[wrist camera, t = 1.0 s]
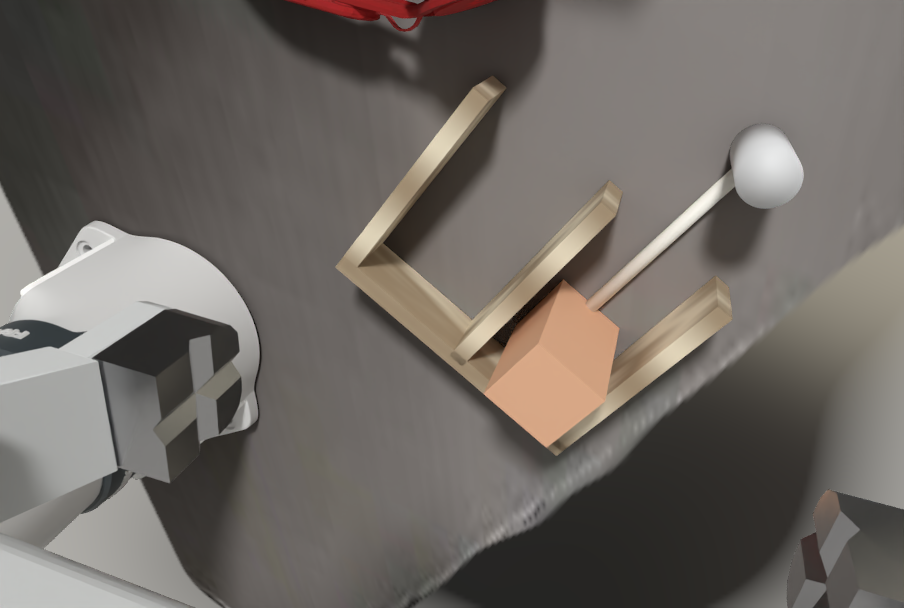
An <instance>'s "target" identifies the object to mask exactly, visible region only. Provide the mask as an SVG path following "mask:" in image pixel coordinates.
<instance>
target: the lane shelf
mask: <svg viewBox="0 0 904 608" xmlns="http://www.w3.org/2000/svg"><path fill="white" fill-rule="evenodd" d="M505 89H506V87H505V86H504V85H503V84H502V83H500V82H499V81H498V80H497V79H496V78H495V77H494V76H491V77H489V78H488V79H486V80H484V81H483V82H481V83H480V84H478V85H476V86H475V87H473V88H472V89H471V91H470V92H469V93H468V95H467V96H466V97H465V99H464V100H463V101H462V102H461V104H460V105H459V106H458V108H457V109H456V110H455V112H454V113H453V114H452V116H451V117H450V118H449V119H448V121H447V122H446V123H445V125H444V126H443V127H442V129H441V130H440V131H439V132H438V134H437V135H436V136H435V138H434V139H433V140H432V142H431V143H430V144H429V146H428V147H427V148H426V149H425V151H424V152H423V153H422V155H421V156H420V157H419V159H418V160H417V161H416V163H415V164H414V165H413V166H412V168H411V169H410V170H409V172H408V173H407V174H406V176H405V177H404V178H403V180H402V181H401V182H400V183H399V185H398V186H397V187H396V189H395V190H394V191H393V193H392V194H391V195H390V197H389V198H388V199H387V200H386V202H385V203H384V204H383V206H382V207H381V208H380V210H379V211H378V212H377V213H376V215H375V216H374V217H373V219H372V220H371V221H370V223H369V224H368V225H367V227H366V228H365V229H364V230H363V232H362V233H361V234H360V236H359V237H358V238H357V240H356V241H355V242H354V244H353V245H352V246H351V247H350V249H349V250H348V251H347V253H346V254H345V255H344V257H343V258H342V259H341V261H340V262H339V263H338V264H337V266H336V268H337V269H338V270H339V271H340V272H342V273H343V274H344V275H345V276H346V277H347V278H349V279H350V280H351V281H352V282H353V283H354V284H356V285H357V286H358V287H359V288H360V289H361V290H363V291H364V292H365V293H366V294H367V295H368V296H370V297H371V298H372V299H373V300H374V301H375V302H377V303H378V304H379V305H380V306H381V307H382V308H384V309H385V310H386V311H387V312H388V313H390V314H391V315H392V316H393V317H394V318H395V319H397V320H398V321H399V322H400V323H401V324H402V325H404V326H405V327H406V328H407V329H408V330H409V331H411V332H412V333H413V334H414V335H415V336H416V337H418V338H419V339H420V340H421V341H422V342H423V343H425V344H426V345H427V346H428V347H429V348H430V349H432V350H433V351H434V352H435V353H436V354H437V355H439V356H440V357H441V358H442V359H443V360H445V361H446V362H447V363H448V364H449V365H450V366H452V367H453V368H454V369H455V370H456V371H457V372H459V373H460V374H461V375H462V376H463V377H464V378H466V379H467V380H468V381H469V382H470V383H471V384H473V385H474V386H475V387H476V388H477V389H478V390H480V391H481V392H482V393H484V391H485V389H486V387H487V385H488V383H489V381H490V379H491V377H492V374H493V372H494V370H495V368H496V366H497V364H498V362H499V360H500V358H501V355H502V353H503V351H504V349H505V348H504V347H503V346H502V345H501V344H499V343H498V342H497V341H496V340H495V339H494V338H492V336H493V335H494V334H495V333H496V332H497V331H498V330H499V329H500V328H501V327H502V326H503V325H504V324H505V323H506V322H508V321H509V320H510V319H511V318H512V317H513V316H514V315H515V314H516V313H517V312H518V311H519V310H520V309H521V308H522V307H523V306H524V305H525V304H526V303H527V302H528V301H529V300H530V299H531V298H532V297H533V296H534V295H535V294H536V293H537V292H538V291H539V290H540V289H541V288H542V287H543V286H544V285H545V284H546V283H547V282H548V281H549V280H550V279H551V278H553V277H554V276H555V275H556V274H557V273H558V272H559V271H560V270H561V269H562V268H563V267H564V266H565V265H566V264H567V263H568V262H569V261H570V260H571V259H572V258H573V257H574V256H575V255H576V254H577V253H578V252H579V251H580V250H581V249H582V248H583V247H584V246H585V245H586V244H587V243H588V242H589V241H590V240H591V239H592V238H593V237H594V236H595V235H596V234H597V233H599V232H600V231H601V230H602V229H603V228H604V227H605V226H606V225H607V224H608V223H609V222H610V221H611V220H612V219H613V218H614V217H615V216H616V214H617V210H618V207H619V203H620V200H621V196H622V193H623V192H622V191H621V190H620V189H619V188H618V187H616V186H615V185H614V184H613V183H612V182H611V181H610V180H609V181H608V182H607V183H606V184H605V185H604V186H603V187H602V188H601V189H600V190H599V191H598V192H597V193H596V194H595V195H594V196H593V197H592V198H591V199H590V200H589V201H588V202H587V203H586V204H585V205H584V206H583V207H582V208H581V209H580V210H579V211H578V212H577V213H576V214H575V216H574V217H573V218H572V219H571V220H570V221H569V222H568V223H567V224H566V225H565V226H564V227H563V228H562V229H561V230H560V231H559V232H558V233H557V234H556V235H555V236H554V237H553V238H552V239H551V240H550V241H549V242H548V243H547V244H546V245H545V246H544V247H543V248H542V249H541V250H540V251H539V252H538V253H537V254H536V255H535V256H534V257H533V258H532V259H531V260H530V261H529V263H528V264H527V265H526V266H525V267H524V268H523V269H522V270H521V271H520V272H519V273H518V274H517V275H516V276H515V277H514V278H513V279H512V280H511V281H510V282H509V283H508V284H507V285H506V286H505V287H504V288H503V289H502V290H501V291H500V292H499V293H498V294H497V295H496V296H495V297H494V298H493V299H492V300H491V301H490V302H489V303H488V304H487V305H486V306H485V307H484V309H483V310H482V311H481V312H480V313H479V314H478V315H477V316H476V317H475V318H474V319H473V320H472V319H470V318H469V317H468V316H467V315H466V314H465V313H463V312H462V311H461V310H460V309H459V308H458V307H456V306H455V305H454V304H453V303H452V302H451V301H450V300H448V299H447V298H446V297H445V296H444V295H443V294H441V293H440V292H439V291H438V290H437V289H436V288H434V287H433V286H432V285H431V284H430V283H429V282H427V281H426V280H425V279H424V278H423V277H422V276H421V275H419V274H418V273H417V272H416V271H415V270H414V269H412V268H411V267H410V266H409V265H408V264H407V263H405V262H404V261H403V260H402V259H401V258H400V257H399V256H397V255H396V254H395V253H394V252H393V251H392V250H390V249H389V248H388V247H387V246H386V245H385V244H383V242H384V241H385V240H386V239H387V237H388V236H389V235H390V234H391V232H392V231H393V230H394V229H395V227H396V226H397V225H398V224H399V222H400V221H401V220H402V218H403V217H404V216H405V215H406V213H407V212H408V211H409V210H410V208H411V207H412V206H413V205H414V203H415V202H416V201H417V200H418V198H419V197H420V196H421V195H422V193H423V192H424V191H425V190H426V188H427V187H428V186H429V185H430V183H431V182H432V181H433V180H434V178H435V177H436V176H437V175H438V173H439V172H440V171H441V170H442V168H443V167H444V166H445V165H446V163H447V162H448V161H449V160H450V158H451V157H452V156H453V155H454V153H455V152H456V151H457V150H458V148H459V147H460V146H461V144H462V143H463V142H464V141H465V139H466V138H467V137H468V136H469V134H470V133H471V132H472V131H473V129H474V128H475V127H476V126H477V124H478V123H479V122H480V121H481V119H482V118H483V117H484V116H485V114H486V113H487V112H488V111H489V109H490V108H491V107H492V106H493V104H494V103H495V102H496V101H497V99H498V98H499V97H500V96H501V94H502V93H503V92H504V91H505ZM731 320H732V310H731V301H730V293H729V287H728V286H727V285H726V284H725V283H724V282H722V281H721V280H720V279H719V278H718V277H717V276H715V277H713V278H712V279H711V280H710V281H709V282H707V283H706V284H705V285H704V286H703V287H701V288H700V289H699V290H698V291H696V292H695V293H694V294H693V295H692V296H690V297H689V298H688V299H687V300H686V301H684V302H683V303H682V304H681V305H680V306H678V307H677V308H676V309H675V310H674V311H672V312H671V313H670V314H669V315H668V316H666V317H665V318H664V319H663V320H662V321H660V322H659V323H658V324H657V325H655V326H654V327H653V328H652V329H651V330H649V331H648V332H647V333H646V334H645V335H643V336H642V337H641V338H640V339H639V340H637V341H636V342H635V343H634V344H633V345H631V346H630V347H629V348H628V349H627V350H625V351H624V352H623V353H622V354H620V355H619V356H618V357H617V358H616V359H614V360H613V364H612V369H611V374H610V379H609V384H608V390H607V395H606V400H605V402H604V403H602V404H601V405H600V406H599V407H597V408H596V409H595V410H594V411H592V412H591V413H590V414H589V415H587V416H586V417H585V418H584V419H582V420H581V421H580V422H579V423H577V424H576V425H575V426H573V427H572V428H571V429H570V430H568V431H567V432H566V433H565V434H563V435H562V436H561V437H560V438H558V439H557V440H556V441H555V442H553V443H552V444H551V445H549V446H548V447H547V448H548V449H549V450H550V451H551V452H552V453H553V454H555V455H556V456H557V455H558V454H560V453H561V452H562V451H563V450H565V449H566V448H567V447H569V446H570V445H571V444H572V443H574V442H575V441H576V440H578V439H579V438H580V437H581V436H583V435H584V434H585V433H587V432H588V431H589V430H591V429H592V428H593V427H594V426H596V425H597V424H598V423H600V422H601V421H602V420H603V419H605V418H606V417H607V416H609V415H610V414H611V413H612V412H614V411H615V410H616V409H618V408H619V407H620V406H621V405H623V404H624V403H625V402H627V401H628V400H629V399H630V398H632V397H633V396H634V395H636V394H637V393H638V392H640V391H641V390H642V389H643V388H645V387H646V386H647V385H649V384H650V383H651V382H652V381H654V380H655V379H656V378H658V377H659V376H660V375H661V374H663V373H664V372H665V371H667V370H668V369H669V368H670V367H672V366H673V365H674V364H676V363H677V362H678V361H680V360H681V359H682V358H683V357H685V356H686V355H687V354H689V353H690V352H691V351H692V350H694V349H695V348H696V347H698V346H699V345H700V344H701V343H703V342H704V341H705V340H707V339H708V338H709V337H710V336H712V335H713V334H714V333H716V332H717V331H718V330H720V329H721V328H722V327H723V326H725V325H726V324H727V323H729V322H730V321H731Z"/></svg>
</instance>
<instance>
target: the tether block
mask: <svg viewBox="0 0 904 608" xmlns="http://www.w3.org/2000/svg"><path fill="white" fill-rule="evenodd" d="M730 161H731V166H732V169H730V170H729V171H728V172H727V173H726V174H725V175H724V176H723V177H722V178H721V179H720V180H718V181H717V182H716V183H715V184H714V185H713V186H712V187H711V188H710V189H709V190H708V191H706V192H705V193H704V194H703V195H702V196H701V197H700V198H699V199H698V200H697V201H696V202H694V203H693V204H692V205H691V206H690V207H689V208H688V209H687V210H686V211H685V212H684V213H682V214H681V215H680V216H679V217H678V218H677V219H676V220H675V221H674V222H673V223H672V224H670V225H669V226H668V227H667V228H666V229H665V230H664V231H663V232H662V233H661V234H660V235H658V236H657V237H656V238H655V239H654V240H653V241H652V242H651V243H650V244H649V245H648V246H646V247H645V248H644V249H643V250H642V251H641V252H640V253H639V254H638V255H637V256H636V257H634V258H633V259H632V260H631V261H630V262H629V263H628V264H627V265H626V266H625V267H624V268H622V269H621V270H620V271H619V272H618V273H617V274H616V275H615V276H614V277H613V278H611V279H610V280H609V281H608V282H607V283H606V284H605V285H604V286H603V287H602V288H601V289H599V290H598V291H597V292H596V293H595V294H594V295H593V296H592V297H591V298H590V299H589V300H586V299H585V298H584V297H583V296H582V295H581V294H580V293H578V292H577V291H576V290H575V289H574V288H573V287H572V286H571V285H569V284H568V283H567V282H566V281H565V280H564V279H563V280H562V281H561V282H560V283H559V284H558V285H557V286H556V287H555V288H554V289H553V290H552V291H551V292H550V293H549V294H548V295H547V296H546V297H545V298H544V299H543V300H542V301H540V302H539V303H538V304H537V305H536V306H535V307H534V308H533V309H532V310H531V311H530V312H529V313H528V314H527V315H526V316H525V317H524V318H523V319H522V320H521V321H520V322H519V323H518V324H517V325H516V326H515V328H514V330H513V332H512V334H511V336H510V338H509V341H508V343H507V345H506V347H505V349H504V351H503V353H502V355H501V358H500V360H499V362H498V364H497V366H496V368H495V370H494V372H493V374H492V377H491V379H490V381H489V383H488V385H487V387H486V389H485V391H484V393H483V394H484V395H485V396H486V397H488V398H489V399H490V400H491V401H492V402H493V403H495V404H496V405H497V406H498V407H499V408H500V409H502V410H503V411H504V412H505V413H506V414H507V415H509V416H510V417H511V418H512V419H513V420H515V421H516V422H517V423H518V424H519V425H520V426H522V427H523V428H524V429H525V430H526V431H527V432H529V433H530V434H531V435H532V436H533V437H534V438H536V439H537V440H538V441H539V442H540V443H541V444H543V445H544V446H545V447H546V448H547V447H548V446H549V445H551V444H552V443H553V442H555V441H556V440H557V439H558V438H560V437H561V436H562V435H563V434H565V433H566V432H567V431H568V430H570V429H571V428H572V427H573V426H575V425H576V424H577V423H579V422H580V421H581V420H582V419H584V418H585V417H586V416H587V415H589V414H590V413H591V412H592V411H594V410H595V409H596V408H597V407H599V406H600V405H601V404H602V403H604V402H605V400H606V395H607V390H608V384H609V379H610V374H611V369H612V364H613V358H614V353H615V348H616V343H617V338H618V332H619V328H618V327H617V326H616V325H615V324H614V323H613V322H612V321H610V320H609V319H608V318H607V317H606V316H605V315H604V314H602V313H601V312H600V311H599V310H598V309H599V308H600V307H601V306H602V305H603V304H605V303H606V302H607V301H608V300H609V299H610V298H611V297H612V296H613V295H615V294H616V293H617V292H618V291H619V290H620V289H621V288H622V287H624V286H625V285H626V284H627V283H628V282H629V281H630V280H631V279H632V278H634V277H635V276H636V275H637V274H638V273H639V272H640V271H641V270H642V269H644V268H645V267H646V266H647V265H648V264H649V263H650V262H651V261H653V260H654V259H655V258H656V257H657V256H658V255H659V254H660V253H661V252H663V251H664V250H665V249H666V248H667V247H668V246H669V245H670V244H671V243H673V242H674V241H675V240H676V239H677V238H678V237H679V236H680V235H682V234H683V233H684V232H685V231H686V230H687V229H688V228H689V227H690V226H692V225H693V224H694V223H695V222H696V221H697V220H698V219H699V218H700V217H702V216H703V215H704V214H705V213H706V212H707V211H708V210H709V209H711V208H712V207H713V206H714V205H715V204H716V203H717V202H718V201H719V200H721V199H722V198H723V197H724V196H725V195H726V194H727V193H728V192H729V191H731V190H732V189H733V188H734V187H736V191H737V193H738V195H739V196H740V198H741V199H742V200H743V201H744V202H746V203H747V204H749V205H751V206H753V207H756V208H762V209H769V208H775V207H779V206H781V205H783V204H785V203H787V202H788V201H790V200H791V199H792V198H793V197H794V196H795V195H796V194H797V193H798V191H799V189H800V187H801V185H802V182H803V168H802V165H801V163H800V161H799V159H798V157H797V155H796V153H795V151H794V149H793V148H792V146H791V144H790V142H789V140H788V138H787V136H786V135H785V133H784V132H783V131H782V130H781V129H779V128H778V127H776V126H774V125H770V124H755V125H752V126H749V127H747V128H745V129H744V130H742V131H741V132H740V133H739V134H738V135H737V136H736V137H735V139H734V140H733V142H732V144H731V147H730Z"/></svg>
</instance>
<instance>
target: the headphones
mask: <svg viewBox="0 0 904 608" xmlns="http://www.w3.org/2000/svg"><path fill="white" fill-rule="evenodd" d="M285 1H289V2H293V3H296V4H300V5H303V6H307V7H311V8H314V9H318V10H321V11H325V12H329V13H332V14H336V15H339V16H343V17H347V18H351V19H357V20H366V21H374V20H378V19H379V18H380V15H384V16H386V18H387V19H388V20H389V22H390V23H391V24H392V25H393V27H394V28H396V29H397V30H399V31H404V32H405V31H411V30H413V29H414V28H415V27H417V26H418V25H419V23H420V21H421V20H422V17H423V16H444V15H449V14H453V13H458V12H461V11H465V10H468V9H472V8H475V7H478V6H481V5H484V4H487V3H490V2H493V1H496V0H424V1H423V2H421V3H419V4H416V3H412V2H409V1H405V0H285ZM390 15H391V16H395V17H399V18H416V17H417V20H416V21H415V23H414V25H413V26H411V27H410V28H408V29H402V28H400V27H399V26H398V25H397V24H396V23H395V21H394V20H393V19H392V17H391V16H390Z"/></svg>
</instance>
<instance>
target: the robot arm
mask: <svg viewBox="0 0 904 608" xmlns="http://www.w3.org/2000/svg"><path fill="white" fill-rule="evenodd" d="M20 293H21V298H20V300H19V301H18V302H17V303H16V305H15V307H14V309H13V311H12V315H11V317H10V320H9V323H8V324H6V325H4V326H2V327H0V608H194V607H192V606H189V605H187V604H184V603H181V602H179V601H176V600H174V599H171V598H169V597H166V596H163V595H161V594H158V593H156V592H153V591H151V590H148V589H145V588H143V587H140V586H138V585H135V584H132V583H130V582H127V581H125V580H122V579H119V578H117V577H114V576H112V575H109V574H106V573H104V572H101V571H99V570H96V569H94V568H91V567H88V566H86V565H83V564H81V563H78V562H75V561H73V560H70V559H68V558H65V557H63V556H60V555H57V554H55V553H52V552H49V551H47V550H44V548H45V547H46V546H47V545H48V544H49V543H50V542H51V541H52V540H53V539H54V538H55V537H56V536H57V535H58V534H59V533H60V532H62V530H64V529H65V528H66V527H67V526H68V525H69V524H70V523H71V522H72V521H73V520H74V519H75V518H76V517H77V516H78V515H79V514H83V513H87V512H89V511H92V510H94V509H96V508H97V507H98V506H99V505H100V504H102V503H103V502H104V501H106V500H107V499H110V498H111V497H112V496H113V495H115V494H116V493H117V492H118V491H119V490H120V489H122V488H123V487H124V486H125V485H126V483H127V482H128V480H129V479H130V478H131V477H133V478H135V479H136V480H137V479H141V478H143V477H145V476H148V477H151V478H154V479H157V480H161V481H164V482H167V483H171V482H172V481H173V480H174V479H175V478H176V477H177V476H178V475H179V474H180V473H181V472H182V471H183V470H184V469H185V468H186V467H187V466H188V465H189V464H190V463H191V462H192V461H193V460H194V459H195V458H196V457H197V456H198V455H199V454H200V444H201V443H202V442H203V441H204V440H206V439H209V438H212V437H217V436H221V435H225V434H229V433H233V432H237V431H241V430H245V429H247V428H248V427H250V426H251V425H252V424H253V423H255V422H256V421H257V419H258V407H257V401H256V397H255V392H254V384H255V379H256V375H257V371H258V366H259V356H260V351H259V341H258V336H257V332H256V328H255V325H254V322H253V319H252V317H251V315H250V312H249V310H248V308H247V307H246V305H245V303H244V301H243V299H242V298H241V296H240V295H239V293H238V292H237V291H236V289H235V288H234V286H233V285H232V284H231V283H230V282H229V280H228V279H227V278H226V277H225V276H224V275H223V274H222V273H221V272H220V271H219V270H218V269H217V268H216V267H215V266H213V265H212V264H211V263H210V262H209V261H207V260H206V259H205V258H203V257H202V256H200V255H199V254H197V253H195V252H194V251H192V250H190V249H188V248H186V247H184V246H182V245H180V244H177V243H175V242H172V241H169V240H165V239H160V238H154V237H142V236H134V235H130V234H127V233H125V232H123V231H121V230H119V229H117V228H115V227H113V226H111V225H109V224H107V223H104V222H101V221H93V222H91V223H90V224H88V225H87V226H85V227H83V228H82V229H81V230H80V232H79V234H78V235H77V237H76V239H75V240H74V242H73V244H72V245H71V247H70V249H69V250H68V252H67V254H66V255H65V257H64V258H63V260H62V262H61V263H60V265H59V267H58V268H57V269H55V270H54V271H52V272H50V273H48V274H46V275H45V276H43V277H41V278H39V279H38V280H36V281H34V282H33V283H30V284H29V285H27V286H26V287H25V288H23V289H22V290H21V292H20ZM813 516H814V522H815V528H816V532H815V533H813V534H811V535H809V536H807V537H805V538H803V539H801V540H800V542H799V544H798V547H797V549H796V551H795V554H794V556H793V559H792V562H791V567H790V571H789V576H788V580H787V606H788V608H904V509H900V508H896V507H893V506H889V505H885V504H881V503H878V502H874V501H870V500H867V499H863V498H859V497H855V496H852V495H848V494H844V493H840V492H837V491H832V490H829V489H828V490H827V491H826V492H825V493H824V495H823V496H822V497H821V498H820V500H819V502H818V504H817V506H816V508H815V510H814V512H813Z"/></svg>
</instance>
